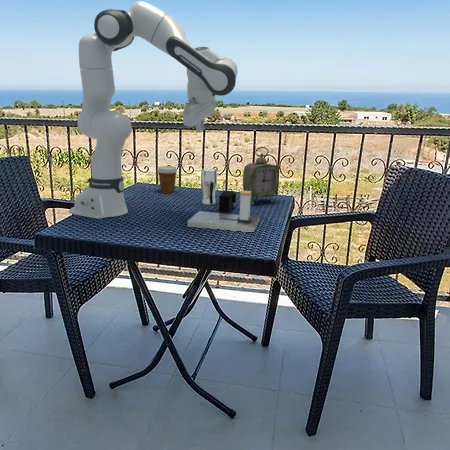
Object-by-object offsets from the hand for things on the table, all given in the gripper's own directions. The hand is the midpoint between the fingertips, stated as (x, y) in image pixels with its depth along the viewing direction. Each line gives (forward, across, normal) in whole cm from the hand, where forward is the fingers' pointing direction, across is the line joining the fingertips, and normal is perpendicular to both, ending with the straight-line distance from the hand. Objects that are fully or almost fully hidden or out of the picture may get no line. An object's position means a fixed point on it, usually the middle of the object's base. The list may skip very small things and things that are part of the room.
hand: (199, 130), depth 152 cm
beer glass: (+34, +4, -2) cm, 35 cm away
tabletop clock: (+36, +16, -21) cm, 45 cm away
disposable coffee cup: (+40, +12, +24) cm, 48 cm away
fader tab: (+23, -18, -27) cm, 40 cm away
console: (+26, -20, -20) cm, 39 cm away
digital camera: (+32, -2, -13) cm, 35 cm away
